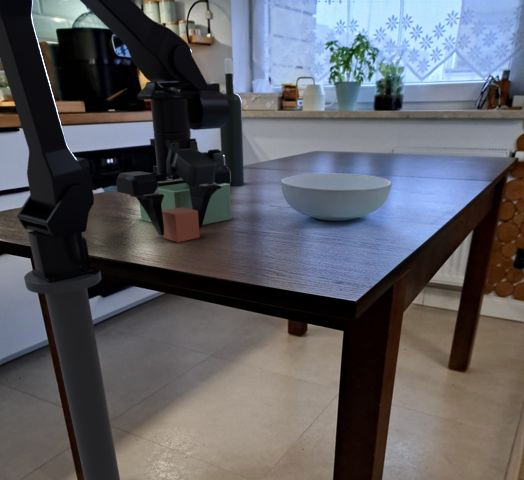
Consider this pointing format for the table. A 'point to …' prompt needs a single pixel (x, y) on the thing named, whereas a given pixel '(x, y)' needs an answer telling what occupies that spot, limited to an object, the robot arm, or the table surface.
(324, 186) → the serving bowl
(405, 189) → the table surface
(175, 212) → the terracotta block
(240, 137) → the wine bottle
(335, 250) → the table surface
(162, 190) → the green storage bin
